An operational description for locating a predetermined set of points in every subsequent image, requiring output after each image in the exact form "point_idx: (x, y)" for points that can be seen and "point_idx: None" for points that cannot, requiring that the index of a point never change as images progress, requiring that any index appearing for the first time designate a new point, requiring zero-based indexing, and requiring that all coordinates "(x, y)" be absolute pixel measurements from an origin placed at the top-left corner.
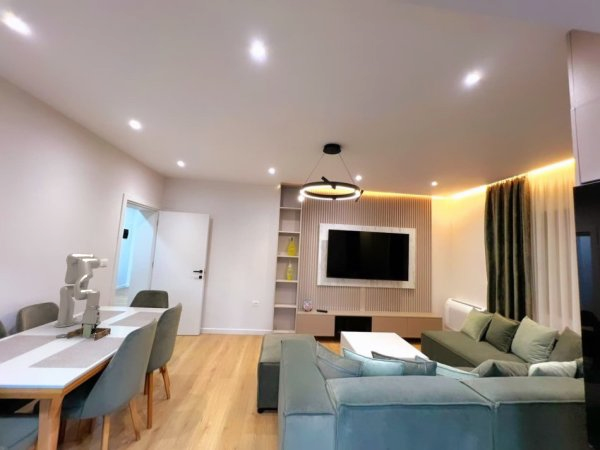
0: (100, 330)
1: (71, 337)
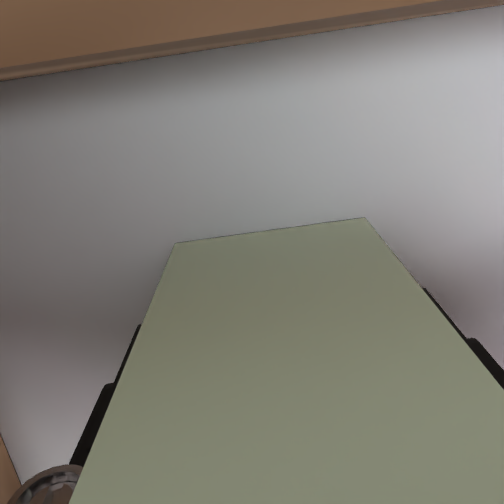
0: (430, 10)
1: (14, 470)
